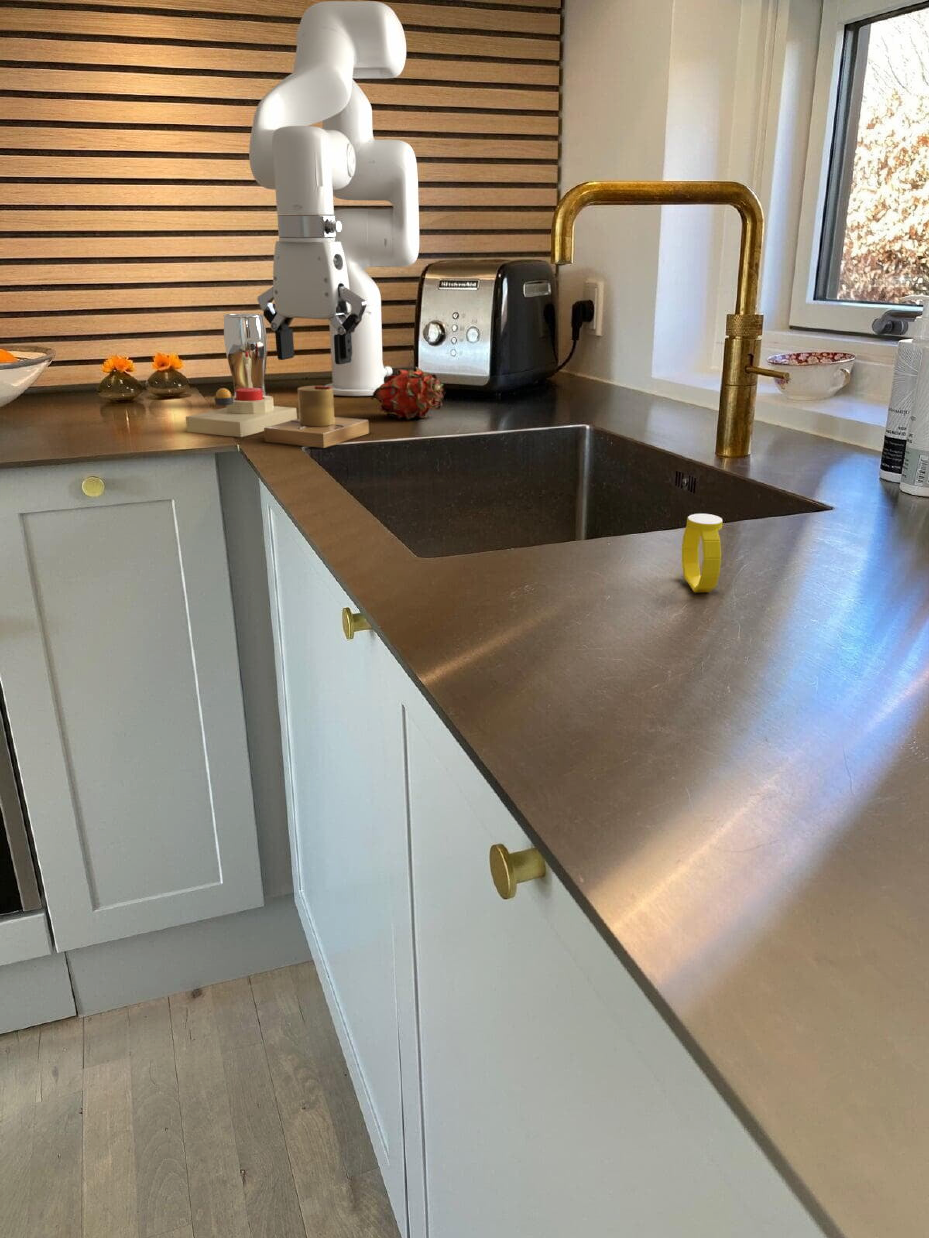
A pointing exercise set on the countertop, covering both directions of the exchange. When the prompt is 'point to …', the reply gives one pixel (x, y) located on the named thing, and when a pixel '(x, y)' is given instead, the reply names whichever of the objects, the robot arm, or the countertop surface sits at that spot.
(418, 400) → the dragon fruit
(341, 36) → the robot arm
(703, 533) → the watch
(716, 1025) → the countertop surface
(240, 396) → the light button
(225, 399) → the lamp
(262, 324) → the beer glass
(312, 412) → the dimmer knob
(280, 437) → the dimmer panel
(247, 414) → the switch block
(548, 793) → the countertop surface
